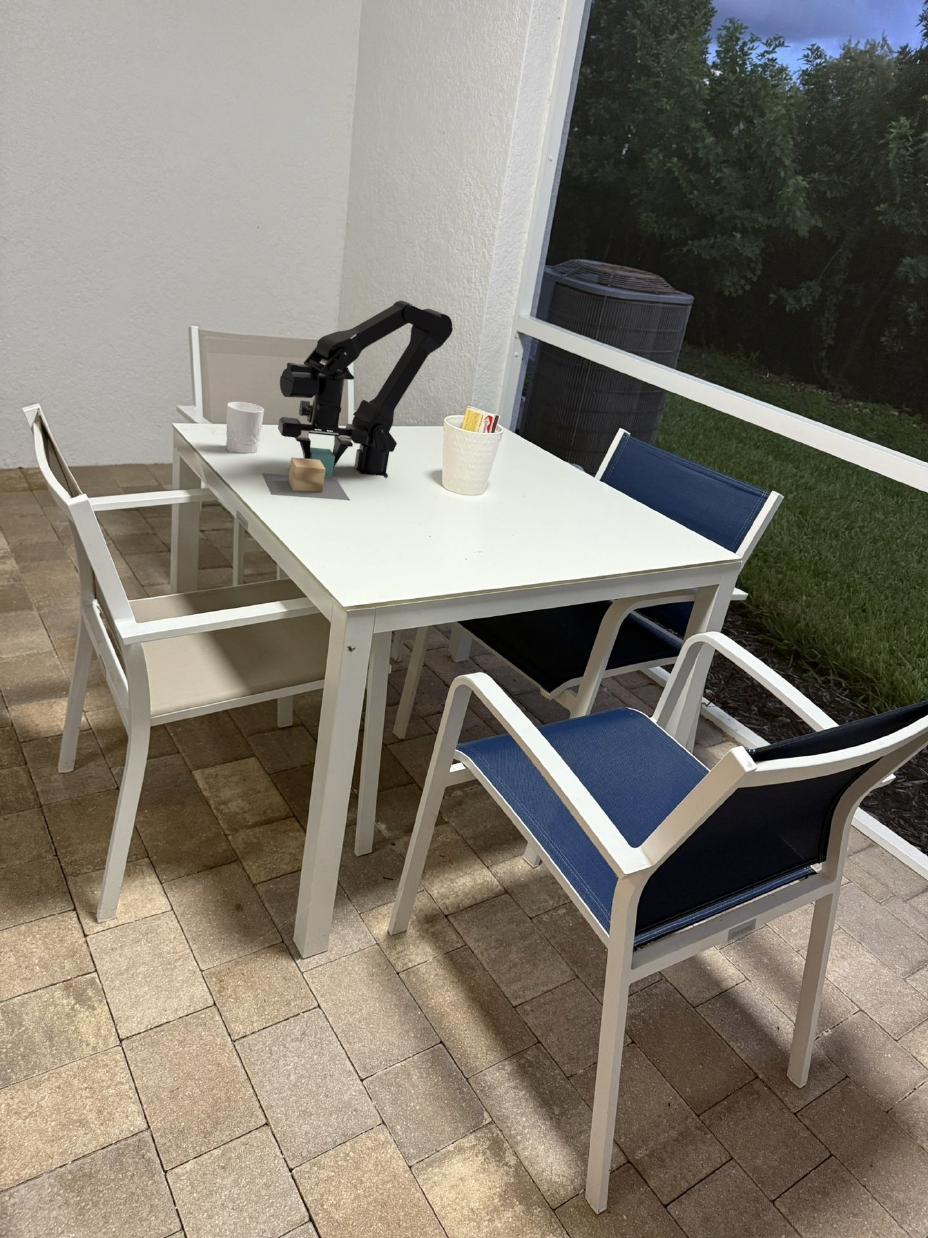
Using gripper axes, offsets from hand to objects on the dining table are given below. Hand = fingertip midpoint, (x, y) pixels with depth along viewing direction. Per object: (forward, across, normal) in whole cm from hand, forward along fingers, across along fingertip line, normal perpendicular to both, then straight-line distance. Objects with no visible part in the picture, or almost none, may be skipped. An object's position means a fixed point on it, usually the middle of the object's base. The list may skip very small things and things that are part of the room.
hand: (318, 468), depth 200 cm
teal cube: (+1, 0, 0) cm, 1 cm away
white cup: (+1, +15, -12) cm, 19 cm away
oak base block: (0, +5, +11) cm, 12 cm away
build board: (+1, +5, +11) cm, 12 cm away
